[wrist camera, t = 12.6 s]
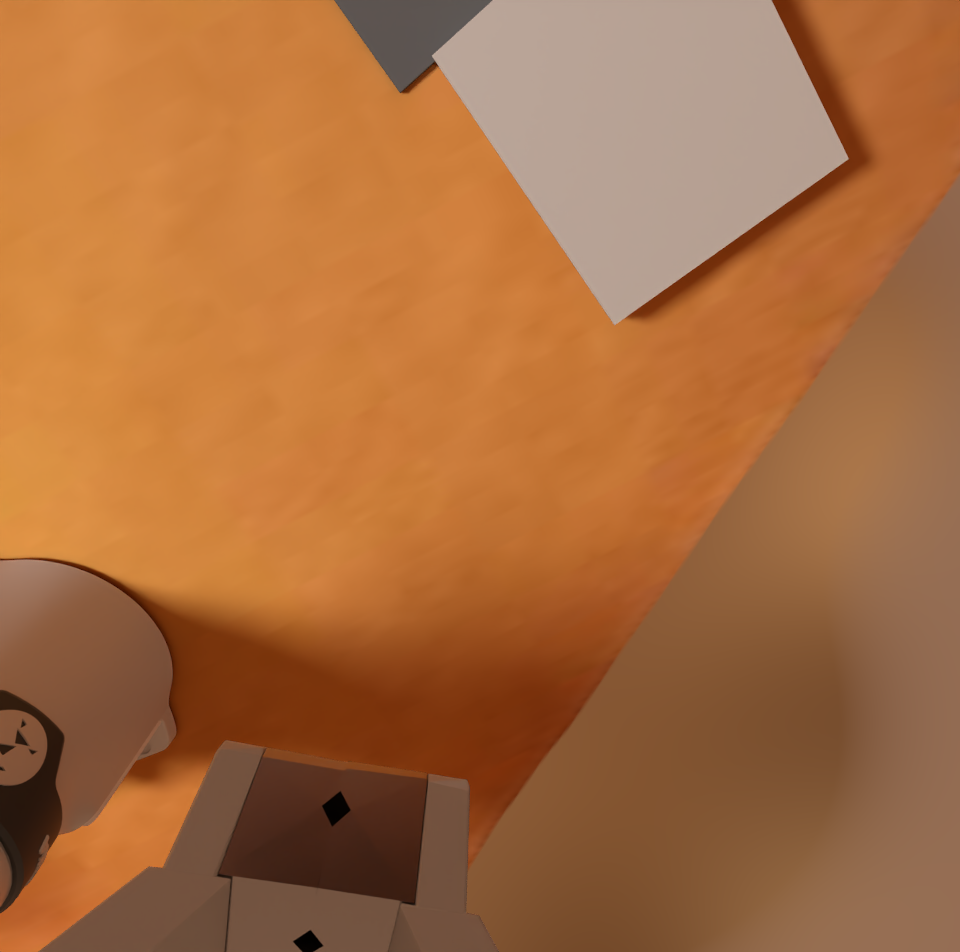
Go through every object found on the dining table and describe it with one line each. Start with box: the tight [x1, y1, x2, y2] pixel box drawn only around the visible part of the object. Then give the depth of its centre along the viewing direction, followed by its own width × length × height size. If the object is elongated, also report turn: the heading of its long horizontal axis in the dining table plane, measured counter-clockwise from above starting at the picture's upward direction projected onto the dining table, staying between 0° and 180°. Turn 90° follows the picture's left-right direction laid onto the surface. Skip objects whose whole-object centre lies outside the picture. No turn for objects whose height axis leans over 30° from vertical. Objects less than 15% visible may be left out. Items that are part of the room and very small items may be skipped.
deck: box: [432, 0, 849, 325], centre depth 30 cm, size 12×14×2 cm
